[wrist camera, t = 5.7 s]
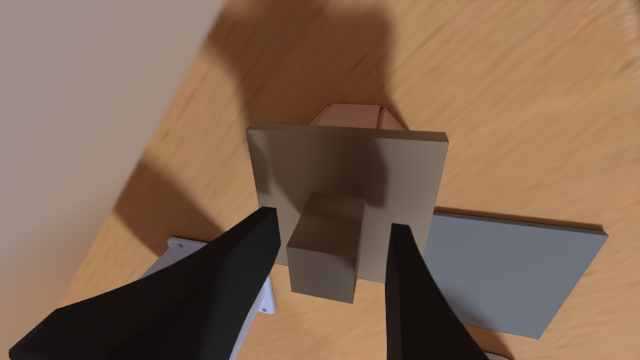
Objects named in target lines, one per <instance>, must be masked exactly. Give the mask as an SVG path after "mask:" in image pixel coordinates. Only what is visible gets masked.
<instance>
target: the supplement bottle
mask: <svg viewBox="0 0 640 360" xmlns="http://www.w3.org/2000/svg"><path fill="white" fill-rule="evenodd" d="M485 354H486V355H487V357H488V358H489V359H490V360H509V359H507V358H505V357H502V356H500V355H496V354H491V353H485Z"/></svg>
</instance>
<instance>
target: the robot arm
mask: <svg viewBox="0 0 640 360" xmlns="http://www.w3.org/2000/svg"><path fill="white" fill-rule="evenodd" d="M167 244H168V246H169V249H168V250H167V251H166V252H165V253H164V254H163V255H162V256H161V257H160V258H159V259H158V260H157V261H156V262H155V263H154V264H153V265H152V266H151V267H150V268H149V269H148V270H147V271H146V272H145V273H144V274H143V275H142V276H141V277H140V278H139V279H138V280H137V281H134V282H132V283H129V284H127V285H124V286H122V287H119V288H117V289H114V290H111V291H109V292H106V293H103V294H100V295H98V296H95V297H92V298H89V299H86V300H83V301H80V302H77V303H74V304H71V305H68V306H65V307H61V308H58V309H56V310H54V311H53V312H52V313H51V314H50V315H49V316H47V317H46V318H45V319H44V320H43V321H42V322H41V323H40V324H38V325H37V326H36V327H35V328H34V329H33V330H31V331H30V332H29V333H28V334H27V335H26V336H25V337H23V338H22V339H21V340H20V341H19V342H17V343H16V344H15V345H14V346H13V347H12V348H11V349H9V358H10V359H11V360H235V358H236V356H237V354H238V352H239V349H240V347H241V345H242V343H243V341H244V339H245V337H246V335H247V333H248V330H249V328H250V326H251V324H252V322H253V320H254V318H255V316H256V314H257V312H258V311H259V312H263V313H268V314H273V313H274V312H275V304H274V298H273V293H272V288H271V282H270V277H269V273H270V271H271V269H272V267H273V265H274V263H275V260H276V257H277V255H278V252H279V249H280V246H281V238H280V231H279V224H278V216H277V209H276V208H274V207H266V206H262V207H261V208H259V209H258V210H256V211H255V212H254V213H252V214H251V215H249V216H248V217H247V218H245V219H244V220H242V221H241V222H240V223H238V224H237V225H235V226H234V227H232V228H231V229H229V230H228V231H227V232H225V233H224V234H222V235H221V236H219V237H218V238H216V239H214V240H213V241H211V242H210V243H204V242H198V241H192V240H186V239H180V238H174V237H170V238H169V239H168V240H167ZM385 304H386V332H387V360H490V359H489V358H488V357H487V355H486V354H485V353H484V352H483V350H482V349H481V348H480V347H479V345H478V344H477V343H476V342H475V341H474V339H473V338H472V337H471V335H470V334H469V332H468V331H467V330H466V328H465V327H464V326H463V324H462V323H461V321H460V320H459V319H458V317H457V316H456V314H455V313H454V311H453V310H452V308H451V307H450V305H449V304H448V302H447V301H446V299H445V297H444V296H443V294H442V293H441V291H440V289H439V287H438V286H437V284H436V282H435V281H434V279H433V277H432V275H431V273H430V271H429V269H428V267H427V265H426V263H425V261H424V259H423V257H422V255H421V253H420V251H419V249H418V246H417V244H416V241H415V239H414V236H413V233H412V230H411V227H410V226H409V225H405V224H397V223H392V224H391V231H390V239H389V246H388V254H387V261H386V276H385Z"/></svg>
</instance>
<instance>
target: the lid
mask: <svg viewBox="0 0 640 360" xmlns="http://www.w3.org/2000/svg"><path fill="white" fill-rule="evenodd" d="M246 135H247V140H248V146H249V152H250V157H251V163H252V169H253V174H254V180H255V186H256V191H257V197H258V202H259V208H261V207H262V206H266V207H274V208H276V209H277V216H278V224H279V231H280V238H281V246H280V249H279V252H278V255H277V257H276V260H275V263H274V264H279V265H285V266H288V267H289V275H290V283H291V291H292V292H295V293H300V294H305V295H310V296H315V297H320V298H325V299H331V300H336V301H341V302H346V303H351V304H353V299H354V293H355V287H356V281H357V278H358V279H364V280H369V281H375V282H381V283H385V276H386V261H387V254H388V246H389V239H390V231H391V224H392V223H397V224H405V225H409V226H410V227H411V230H412V233H413V236H414V239H415V241H416V244H417V246H418V249H419V251H420V253H421V255H422V257H423V255H424V250H425V246H426V241H427V237H428V233H429V228H430V224H431V220H432V215H433V211H434V206H435V202H436V198H437V193H438V189H439V185H440V180H441V176H442V171H443V167H444V163H445V158H446V154H447V150H448V145H449V141H448V138H447V136H446V133H445V132H428V131H411V130H393V129H375V128H358V127H340V126H322V125H304V124H287V123H269V122H255V123H254V124H252V125H251V126H250V127H248V128H247V129H246Z"/></svg>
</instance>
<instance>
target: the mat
mask: <svg viewBox="0 0 640 360" xmlns="http://www.w3.org/2000/svg"><path fill="white" fill-rule="evenodd" d="M608 237H609V236H608V235H607V234H606V233H605V231H598V230H589V229H581V228H572V227H564V226H555V225H546V224H538V223H529V222H521V221H512V220H504V219H495V218H486V217H478V216H469V215H461V214H452V213H444V212H435V211H433V215H432V220H431V224H430V228H429V233H428V237H427V241H426V246H425V250H424V255H423V259H424V261H425V263H426V265H427V267H428V269H429V271H430V273H431V275H432V277H433V279H434V281H435V282H436V284H437V286H438V287H439V289H440V291H441V293H442V294H443V296H444V297H445V299H446V301H447V302H448V304H449V305H450V307H451V308H452V310H453V311H454V313H455V314H456V316H457V317H458V319H459V320H460V321H461V323H462V324H463V325H468V326H473V327H478V328H483V329H488V330H493V331H498V332H503V333H509V334H514V335H519V336H524V337H529V338H534V339H539V338H540V337H541V335H542V334H543V332H544V331H545V329H546V328H547V327H548V325H549V324H550V322H551V321H552V319H553V318H554V316H555V315H556V313H557V312H558V310H559V309H560V307H561V306H562V304H563V303H564V302H565V300H566V299H567V297H568V296H569V294H570V293H571V291H572V290H573V288H574V287H575V285H576V284H577V282H578V281H579V279H580V278H581V276H582V275H583V274H584V272H585V271H586V269H587V268H588V266H589V265H590V263H591V262H592V260H593V259H594V257H595V256H596V254H597V253H598V251H599V250H600V249H601V247H602V246H603V244H604V243H605V241H606V240H607V238H608Z"/></svg>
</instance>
